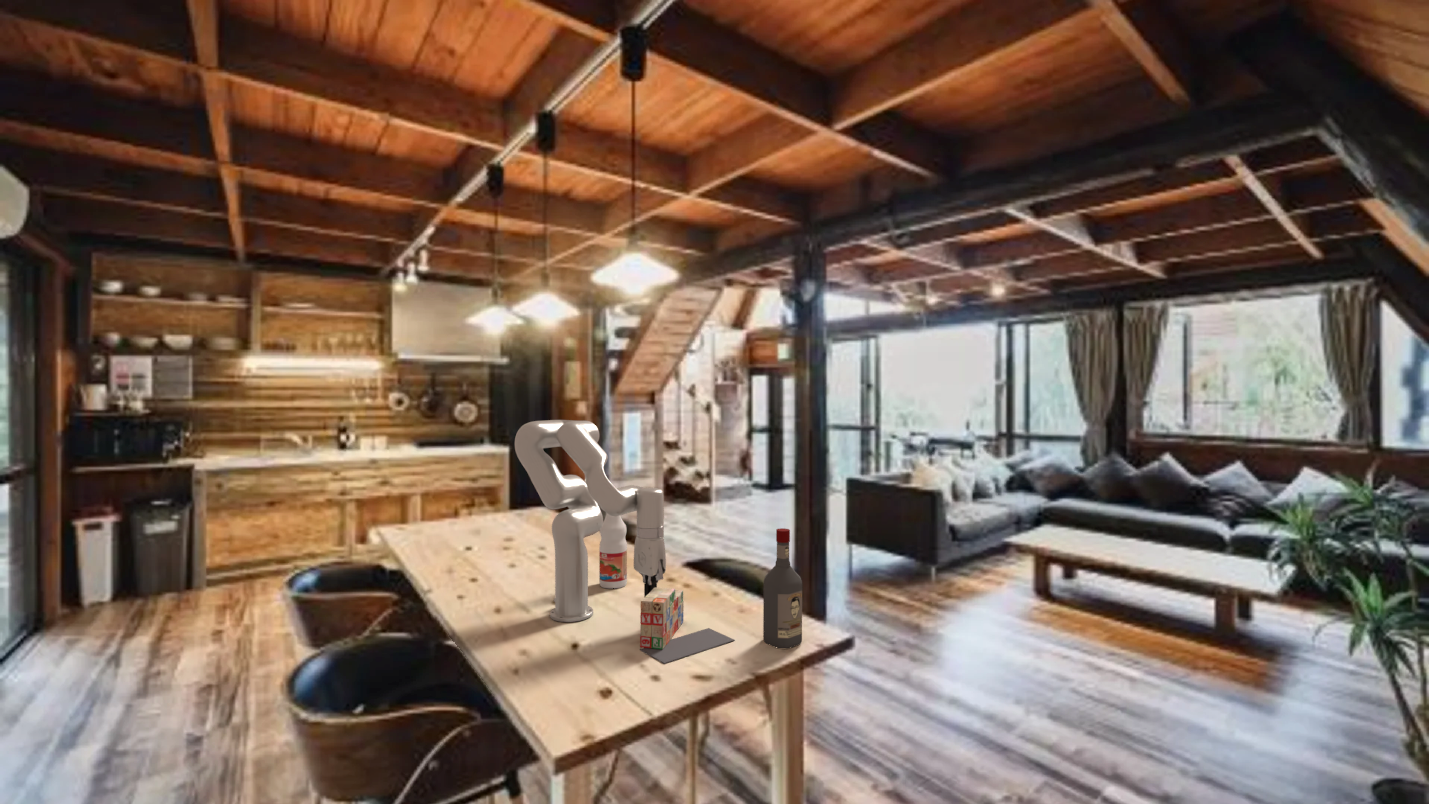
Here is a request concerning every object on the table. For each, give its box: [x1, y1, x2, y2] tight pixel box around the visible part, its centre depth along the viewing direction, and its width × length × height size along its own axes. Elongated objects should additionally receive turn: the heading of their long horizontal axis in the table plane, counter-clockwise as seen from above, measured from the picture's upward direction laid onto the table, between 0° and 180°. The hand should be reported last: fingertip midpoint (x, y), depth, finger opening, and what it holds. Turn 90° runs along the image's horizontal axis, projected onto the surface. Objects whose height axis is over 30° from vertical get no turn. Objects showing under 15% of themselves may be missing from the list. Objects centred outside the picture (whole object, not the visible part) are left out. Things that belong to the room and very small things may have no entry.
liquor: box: [762, 527, 803, 649], centre depth 170 cm, size 9×9×30 cm
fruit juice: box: [598, 512, 628, 589], centre depth 220 cm, size 9×9×28 cm
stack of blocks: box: [639, 587, 684, 649], centre depth 175 cm, size 21×6×12 cm, turn 168°
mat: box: [639, 627, 736, 665], centre depth 168 cm, size 11×23×1 cm, turn 130°
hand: (650, 597), depth 180 cm, fingers closed
